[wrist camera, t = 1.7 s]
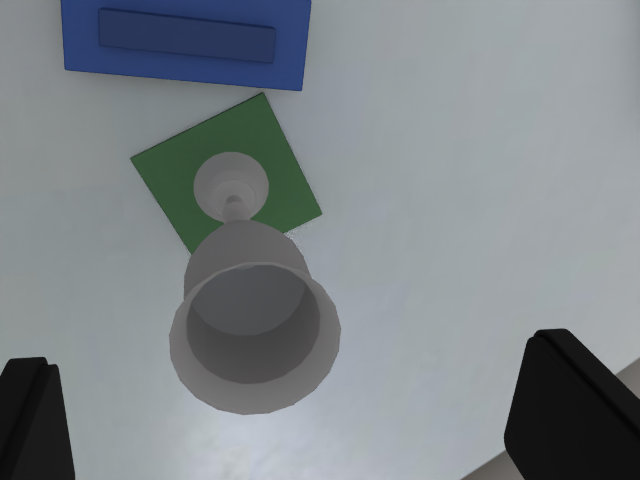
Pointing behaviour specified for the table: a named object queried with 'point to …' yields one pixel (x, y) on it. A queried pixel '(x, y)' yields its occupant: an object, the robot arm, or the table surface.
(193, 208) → the green cloth
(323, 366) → the chalice
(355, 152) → the table surface
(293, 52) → the brush
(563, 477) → the robot arm
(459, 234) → the table surface
